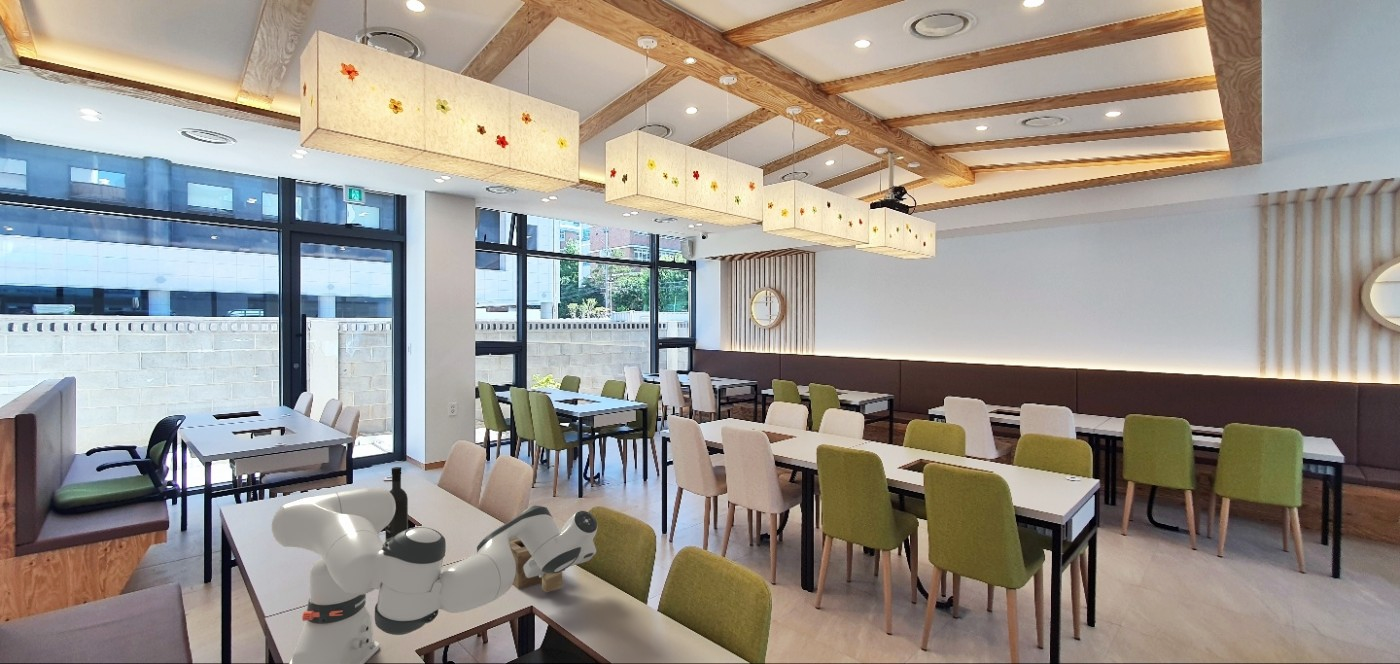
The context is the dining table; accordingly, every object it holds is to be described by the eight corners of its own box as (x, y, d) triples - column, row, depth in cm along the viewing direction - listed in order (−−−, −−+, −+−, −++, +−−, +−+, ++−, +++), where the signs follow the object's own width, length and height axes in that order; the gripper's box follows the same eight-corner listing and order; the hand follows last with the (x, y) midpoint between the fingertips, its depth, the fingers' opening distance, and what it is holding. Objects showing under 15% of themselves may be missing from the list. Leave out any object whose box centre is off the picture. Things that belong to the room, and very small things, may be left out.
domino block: (562, 587, 179) (562, 560, 179) (546, 592, 176) (546, 565, 176) (557, 584, 181) (557, 557, 181) (541, 588, 178) (541, 562, 178)
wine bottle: (392, 559, 202) (392, 470, 202) (384, 555, 206) (383, 468, 205) (409, 554, 207) (408, 467, 206) (400, 550, 210) (400, 465, 210)
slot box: (557, 577, 189) (557, 542, 189) (518, 589, 181) (518, 553, 181) (539, 564, 199) (539, 531, 199) (501, 575, 191) (501, 540, 191)
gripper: (535, 569, 163) (520, 592, 171) (601, 550, 176) (584, 572, 184) (528, 547, 166) (514, 571, 174) (593, 531, 179) (577, 553, 187)
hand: (551, 571), depth 179 cm, fingers closed on domino block, 5 cm apart
